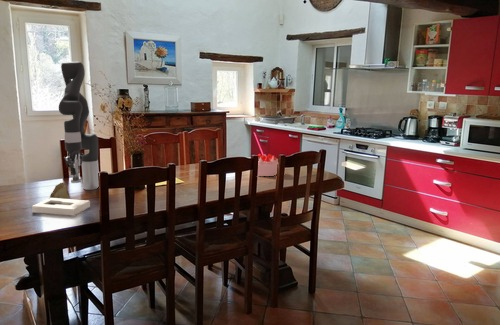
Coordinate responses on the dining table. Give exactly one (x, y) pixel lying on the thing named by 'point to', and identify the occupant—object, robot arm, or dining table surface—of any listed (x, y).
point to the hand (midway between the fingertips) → (75, 174)
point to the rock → (60, 191)
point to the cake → (267, 165)
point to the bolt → (76, 177)
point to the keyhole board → (61, 206)
